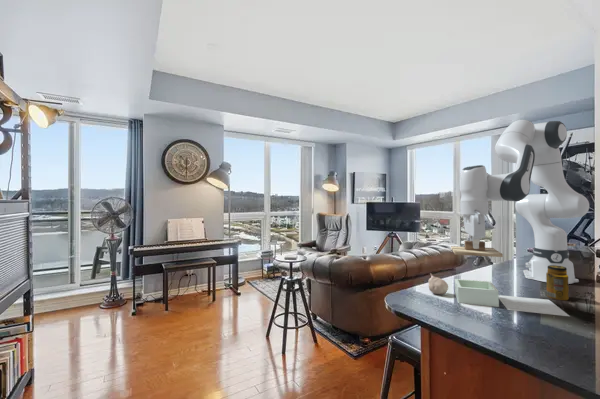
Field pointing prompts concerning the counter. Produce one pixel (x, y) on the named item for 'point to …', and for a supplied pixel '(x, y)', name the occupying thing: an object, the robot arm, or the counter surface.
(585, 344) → the counter surface
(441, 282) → the garlic bulb
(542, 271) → the robot arm
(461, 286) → the mint green open box
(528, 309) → the white square tile
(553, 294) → the condiment
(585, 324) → the counter surface
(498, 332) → the counter surface
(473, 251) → the oak cover
